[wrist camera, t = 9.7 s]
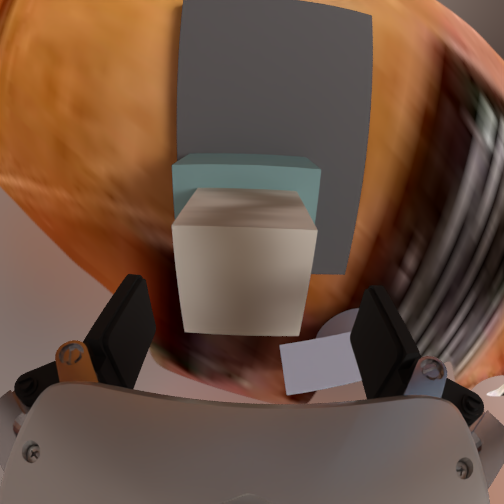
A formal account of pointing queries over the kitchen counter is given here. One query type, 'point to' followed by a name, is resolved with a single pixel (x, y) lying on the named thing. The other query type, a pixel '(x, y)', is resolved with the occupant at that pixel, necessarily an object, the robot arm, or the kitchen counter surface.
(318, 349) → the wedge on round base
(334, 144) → the mat
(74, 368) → the robot arm
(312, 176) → the plinth
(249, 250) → the cream cube
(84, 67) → the kitchen counter surface
